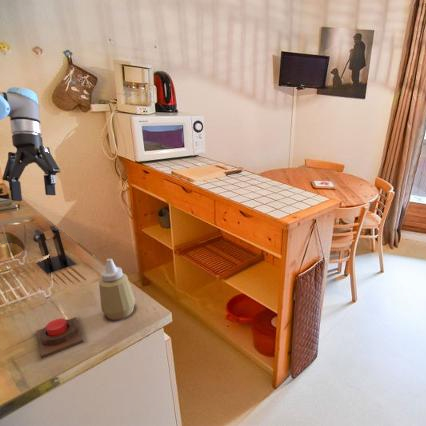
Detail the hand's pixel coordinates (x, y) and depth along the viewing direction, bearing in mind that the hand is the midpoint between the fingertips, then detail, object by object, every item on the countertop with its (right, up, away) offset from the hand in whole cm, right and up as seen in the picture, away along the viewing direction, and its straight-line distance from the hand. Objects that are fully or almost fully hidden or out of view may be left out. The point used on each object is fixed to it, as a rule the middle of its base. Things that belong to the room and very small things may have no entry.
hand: (33, 197), depth 106 cm
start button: (+31, -34, -28) cm, 54 cm away
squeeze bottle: (+40, -34, -17) cm, 55 cm away
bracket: (+7, -23, +1) cm, 24 cm away
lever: (+4, -15, +1) cm, 15 cm away
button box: (+31, -37, -27) cm, 55 cm away
